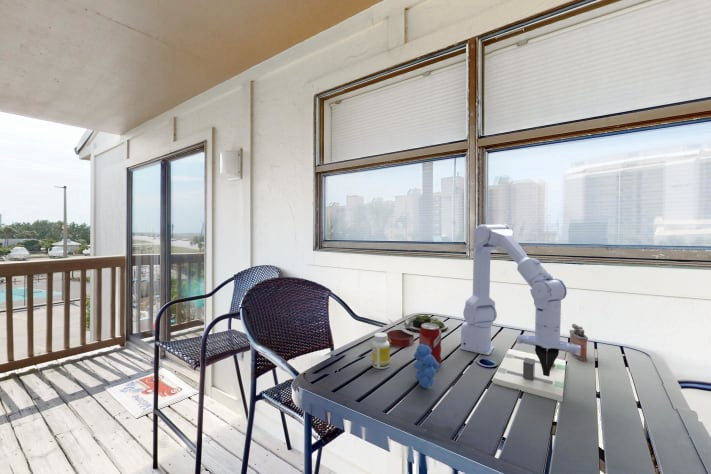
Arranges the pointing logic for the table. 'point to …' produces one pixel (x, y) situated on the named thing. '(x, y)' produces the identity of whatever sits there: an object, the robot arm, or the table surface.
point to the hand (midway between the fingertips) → (546, 374)
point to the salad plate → (418, 320)
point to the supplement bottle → (380, 351)
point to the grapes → (425, 365)
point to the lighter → (579, 342)
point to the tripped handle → (529, 368)
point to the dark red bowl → (400, 337)
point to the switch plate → (540, 385)
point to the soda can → (431, 339)
